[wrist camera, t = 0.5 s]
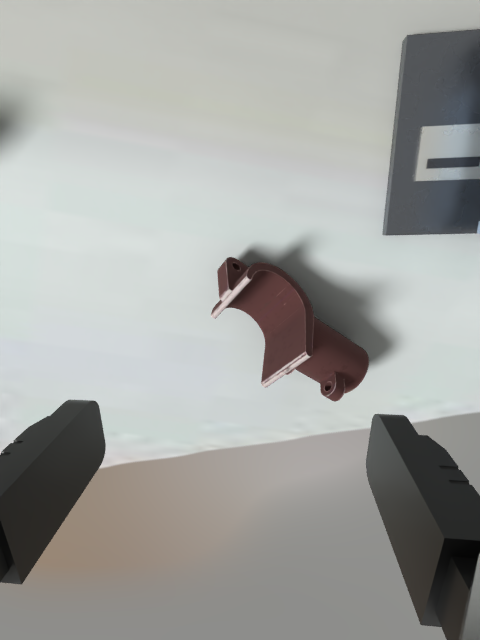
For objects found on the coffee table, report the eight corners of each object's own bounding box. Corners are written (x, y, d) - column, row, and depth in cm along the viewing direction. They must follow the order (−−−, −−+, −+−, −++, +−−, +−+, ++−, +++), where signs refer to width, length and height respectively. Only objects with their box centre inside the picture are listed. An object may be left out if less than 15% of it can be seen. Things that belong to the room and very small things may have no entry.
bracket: (240, 237, 31) (222, 304, 24) (364, 322, 36) (379, 398, 29) (209, 277, 35) (185, 345, 28) (324, 349, 40) (329, 422, 33)
